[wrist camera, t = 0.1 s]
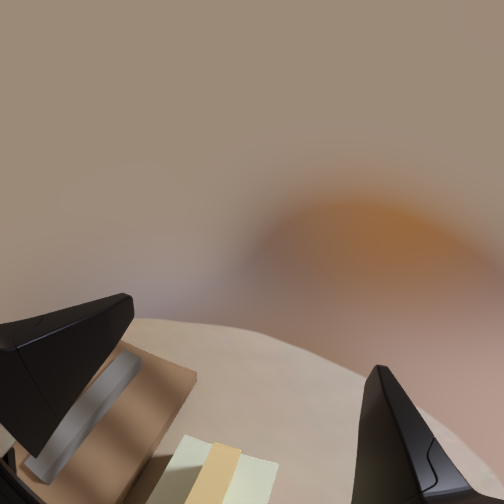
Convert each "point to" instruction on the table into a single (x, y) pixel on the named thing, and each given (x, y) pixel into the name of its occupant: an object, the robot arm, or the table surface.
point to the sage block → (213, 476)
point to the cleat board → (108, 430)
